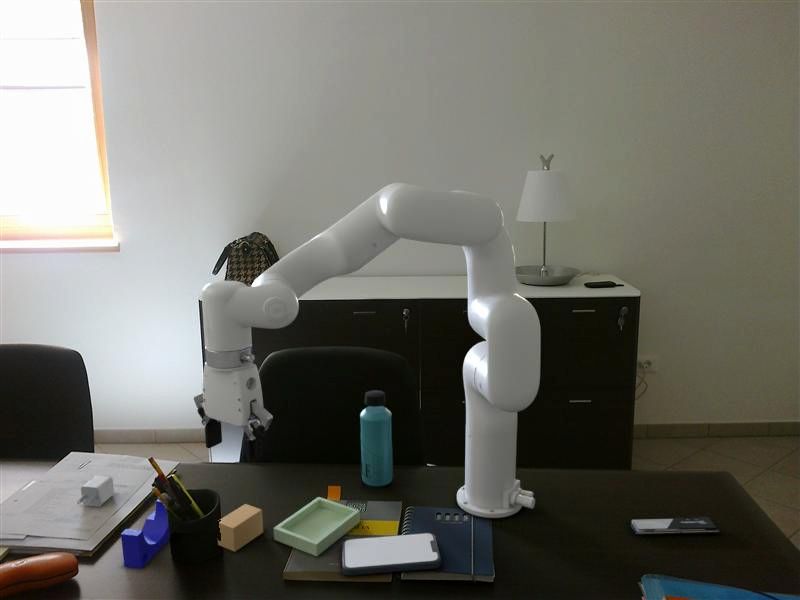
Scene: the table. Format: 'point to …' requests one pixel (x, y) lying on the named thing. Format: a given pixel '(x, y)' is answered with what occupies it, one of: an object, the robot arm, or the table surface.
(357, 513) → the shallow green tray
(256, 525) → the wooden block
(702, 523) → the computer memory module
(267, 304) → the robot arm
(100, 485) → the usb wall charger
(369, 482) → the beverage bottle
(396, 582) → the table surface
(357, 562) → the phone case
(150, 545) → the blue tape dispenser
